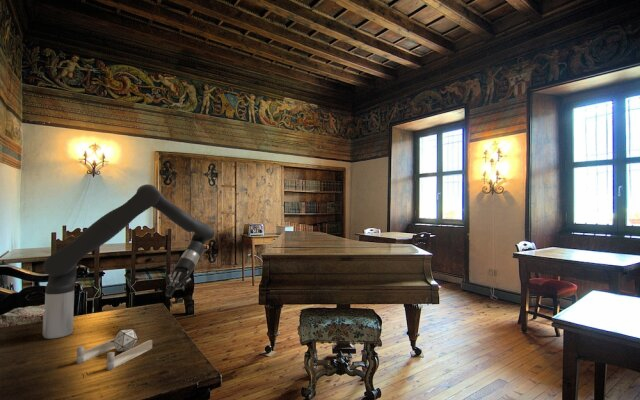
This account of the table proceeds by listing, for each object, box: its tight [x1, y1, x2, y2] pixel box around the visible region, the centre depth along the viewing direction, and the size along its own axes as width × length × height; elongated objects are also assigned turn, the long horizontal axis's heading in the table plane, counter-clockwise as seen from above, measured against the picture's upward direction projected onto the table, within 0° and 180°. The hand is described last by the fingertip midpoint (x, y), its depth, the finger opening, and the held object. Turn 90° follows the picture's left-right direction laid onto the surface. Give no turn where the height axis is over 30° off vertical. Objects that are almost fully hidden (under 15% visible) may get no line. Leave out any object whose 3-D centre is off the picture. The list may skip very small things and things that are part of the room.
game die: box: [110, 326, 140, 355], centre depth 118 cm, size 9×8×10 cm
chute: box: [75, 337, 153, 371], centre depth 114 cm, size 15×18×5 cm
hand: (167, 295), depth 137 cm, fingers closed
